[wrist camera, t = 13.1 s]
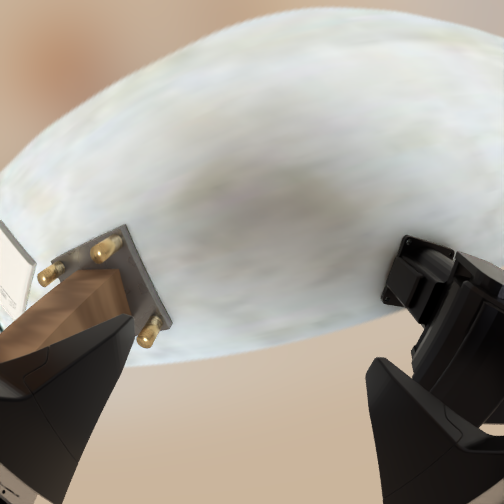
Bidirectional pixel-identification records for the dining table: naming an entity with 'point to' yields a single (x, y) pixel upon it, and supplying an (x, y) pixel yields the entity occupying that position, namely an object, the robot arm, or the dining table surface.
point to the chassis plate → (132, 274)
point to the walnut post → (66, 312)
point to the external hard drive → (14, 274)
